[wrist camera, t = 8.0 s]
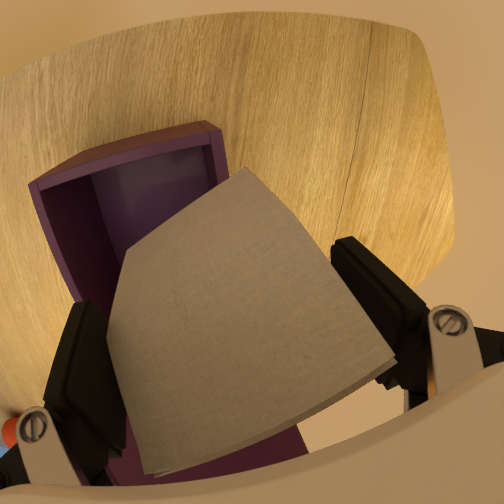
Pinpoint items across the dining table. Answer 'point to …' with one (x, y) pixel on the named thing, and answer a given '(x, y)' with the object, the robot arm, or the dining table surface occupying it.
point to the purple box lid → (242, 460)
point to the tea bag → (233, 329)
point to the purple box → (122, 200)
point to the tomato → (10, 432)
